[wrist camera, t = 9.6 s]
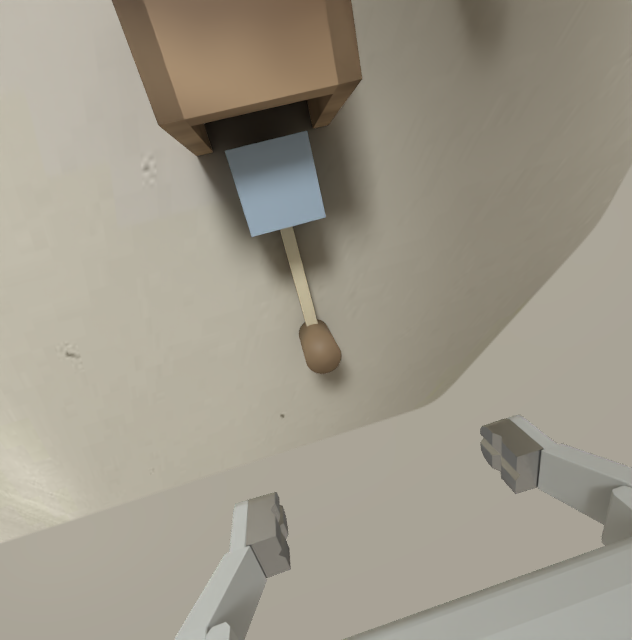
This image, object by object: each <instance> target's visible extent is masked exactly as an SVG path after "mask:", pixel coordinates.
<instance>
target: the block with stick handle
mask: <svg viewBox="0 0 632 640" xmlns="http://www.w3.org/2000/svg"><path fill="white" fill-rule="evenodd" d="M225 154H226V157H227V160H228V163H229V166H230V169H231V173H232V176H233V179H234V182H235V185H236V188H237V192H238V195H239V198H240V201H241V204H242V207H243V211H244V214H245V217H246V220H247V223H248V227H249V230H250V233H251V236H252V237H254V236H257V235H261V234H265V233H269V232H273V231H276V230H280V233H281V236H282V240H283V243H284V247H285V251H286V254H287V258H288V261H289V265H290V269H291V272H292V276H293V279H294V283H295V287H296V290H297V294H298V297H299V301H300V305H301V308H302V312H303V315H304V319H305V323H304V324H303V325H302V326H301V328H300V330H299V338H300V341H301V345H302V349H303V352H304V356H305V359H306V363H307V365H308V367H309V368H310V369H311V370H312V371H314V372H316V373H320V374H324V373H328V372H331V371H333V370H334V369H335V368H336V367H337V366H338V365H339V363H340V361H341V351H340V349H339V347H338V345H337V343H336V342H335V340H334V338H333V336H332V334H331V332H330V331H329V329H328V327H327V325H326V324H325V323H324V322H323V321H321V320H318V319H316V315H315V311H314V307H313V303H312V299H311V295H310V292H309V288H308V284H307V280H306V276H305V272H304V269H303V265H302V261H301V257H300V253H299V249H298V246H297V242H296V238H295V234H294V230H293V226H295V225H299V224H303V223H306V222H310V221H314V220H318V219H321V218H325V217H326V215H325V211H324V206H323V202H322V197H321V192H320V188H319V183H318V178H317V174H316V169H315V165H314V160H313V155H312V151H311V146H310V141H309V137H308V132H307V131H303V132H299V133H295V134H291V135H287V136H283V137H279V138H275V139H271V140H267V141H263V142H259V143H254V144H250V145H246V146H242V147H238V148H234V149H230V150H226V151H225Z"/></svg>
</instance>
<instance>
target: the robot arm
mask: <svg viewBox="0 0 632 640" xmlns="http://www.w3.org/2000/svg"><path fill="white" fill-rule="evenodd" d="M480 434H481V435H482V436H483V437H484V438H483V440H482V441H481V451H482V453H483V455H484V457H485V459H486V461H487V462H488V463H489V465H491V467H492V468H494V469H496V470H499V471H500V472H501V478H502V479H503V480H504V481H505V483H506V484H507V485H508V486H509V487H510V488H511V489H512V491H513V492H514V493H515V494H517V493H520V492H523V491H527V490H530V489H533V488H537V487H538V489H540V490H541V491H543V492H545V493H547V494H549V495H551V496H553V497H554V498H556V499H558V500H560V501H562V502H563V503H565V504H567V505H569V506H571V507H573V508H574V509H576V510H578V511H580V512H582V513H583V514H585V515H587V516H589V517H591V518H592V519H594V520H596V521H598V522H600V523H602V524H603V525H604V529H603V533H602V543H603V544H604V545H605V546H604V547H601V548H598V549H595V550H593V551H590V552H587V553H584V554H581V555H579V556H576V557H573V558H570V559H567V560H565V561H562V562H559V563H556V564H553V565H550V566H548V567H545V568H542V569H539V570H536V571H533V572H531V573H528V574H525V575H522V576H519V577H517V578H514V579H511V580H508V581H506V582H503V583H500V584H497V585H495V586H491V587H489V588H486V589H483V590H480V591H477V592H475V593H472V594H469V595H466V596H463V597H460V598H458V599H455V600H452V601H449V602H446V603H444V604H441V605H438V606H435V607H432V608H430V609H427V610H424V611H421V612H418V613H416V614H413V615H410V616H407V617H405V618H402V619H399V620H396V621H393V622H390V623H388V624H385V625H382V626H379V627H377V628H374V629H371V630H368V631H365V632H362V633H360V634H357V635H354V636H351V637H348V638H346V639H343V640H632V467H630V466H627V465H624V464H621V463H618V462H615V461H612V460H609V459H606V458H603V457H600V456H597V455H595V454H592V453H589V452H586V451H583V450H580V449H577V448H574V447H571V446H568V445H565V444H557V443H556V442H555V441H553V440H552V439H551V438H550V437H548V436H547V435H546V434H544V433H543V432H542V431H541V430H539V429H538V428H537V427H536V426H534V425H533V424H532V423H530V422H529V421H528V420H527V419H525V418H524V417H523V416H521V415H516V416H512V417H509V418H506V419H502V420H499V421H496V422H493V423H490V424H487V425H484V426H482V427H481V429H480ZM287 536H288V526H287V520H286V515H285V512H284V509H283V506H281V505H280V504H279V497H278V494H277V493H276V492H274V493H270V494H267V495H263V496H260V497H256V498H253V499H249V500H246V501H243V502H239V503H236V504H235V507H234V512H233V521H232V531H231V540H230V549H229V552H228V553H226V554H225V555H224V556H223V558H222V560H221V562H220V563H219V565H218V566H217V568H216V570H215V571H214V573H213V575H212V576H211V578H210V580H209V582H208V583H207V585H206V587H205V588H204V590H203V592H202V593H201V595H200V597H199V599H198V600H197V602H196V604H195V605H194V607H193V608H192V610H191V612H190V614H189V615H188V617H187V619H186V620H185V622H184V624H183V625H182V627H181V629H180V630H179V632H178V634H177V636H176V637H175V640H244V639H245V636H246V634H247V631H248V629H249V626H250V624H251V621H252V618H253V615H254V613H255V610H256V607H257V605H258V602H259V600H260V597H261V595H262V592H263V589H264V587H265V584H266V581H267V579H266V578H268V577H271V576H274V575H277V574H279V573H282V572H285V571H287V570H290V569H291V568H290V552H289V546H288V544H287V541H286V538H287Z"/></svg>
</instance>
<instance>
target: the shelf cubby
mask: <svg viewBox="0 0 632 640" xmlns="http://www.w3.org/2000/svg"><path fill="white" fill-rule="evenodd" d="M112 2H113V5H114V7H115V10H116V13H117V15H118V18H119V21H120V23H121V26H122V29H123V32H124V34H125V37H126V40H127V42H128V45H129V48H130V50H131V53H132V56H133V58H134V61H135V64H136V66H137V69H138V72H139V74H140V77H141V80H142V82H143V85H144V88H145V90H146V93H147V96H148V98H149V101H150V104H151V107H152V109H153V112H154V115H155V117H156V120H157V123H158V125H159V126H160V127H161V128H162V129H164V130H165V131H166V132H167V133H169V134H170V135H171V136H172V137H174V138H175V139H176V140H177V141H178V142H180V143H181V144H182V145H183V146H185V147H186V148H187V149H188V150H190V151H191V152H192V153H193V154H195V155H196V156H200V155H204V154H208V153H213V150H212V147H211V144H210V141H209V138H208V135H207V132H206V129H205V126H204V123H207V122H212V121H216V120H221V119H225V118H229V117H234V116H238V115H242V114H247V113H251V112H255V111H260V110H264V109H269V108H273V107H277V106H282V105H286V104H290V103H295V102H299V101H303V100H307V103H308V108H309V113H310V118H311V123H312V128H313V129H314V128H318V127H323V126H327V125H329V123H330V122H331V121H332V119H333V118H334V117H335V115H336V114H337V113H338V111H339V110H340V109H341V107H342V106H343V104H344V103H345V102H346V100H347V99H348V98H349V96H350V95H351V94H352V92H353V91H354V90H355V88H356V87H357V85H358V84H359V83H360V81H361V80H362V74H361V67H360V60H359V53H358V46H357V38H356V31H355V24H354V17H353V10H352V3H351V0H112Z"/></svg>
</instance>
